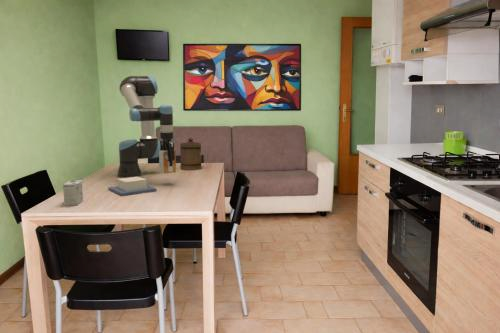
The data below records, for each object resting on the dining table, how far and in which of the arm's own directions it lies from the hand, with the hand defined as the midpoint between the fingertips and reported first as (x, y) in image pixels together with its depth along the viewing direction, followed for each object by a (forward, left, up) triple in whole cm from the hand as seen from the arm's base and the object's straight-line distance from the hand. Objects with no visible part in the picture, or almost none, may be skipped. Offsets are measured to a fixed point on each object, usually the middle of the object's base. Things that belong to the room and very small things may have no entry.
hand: (167, 170), depth 282 cm
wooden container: (-42, +40, -9) cm, 59 cm away
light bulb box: (+14, -59, -9) cm, 61 cm away
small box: (0, 0, -1) cm, 1 cm away
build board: (+4, -24, -8) cm, 26 cm away
